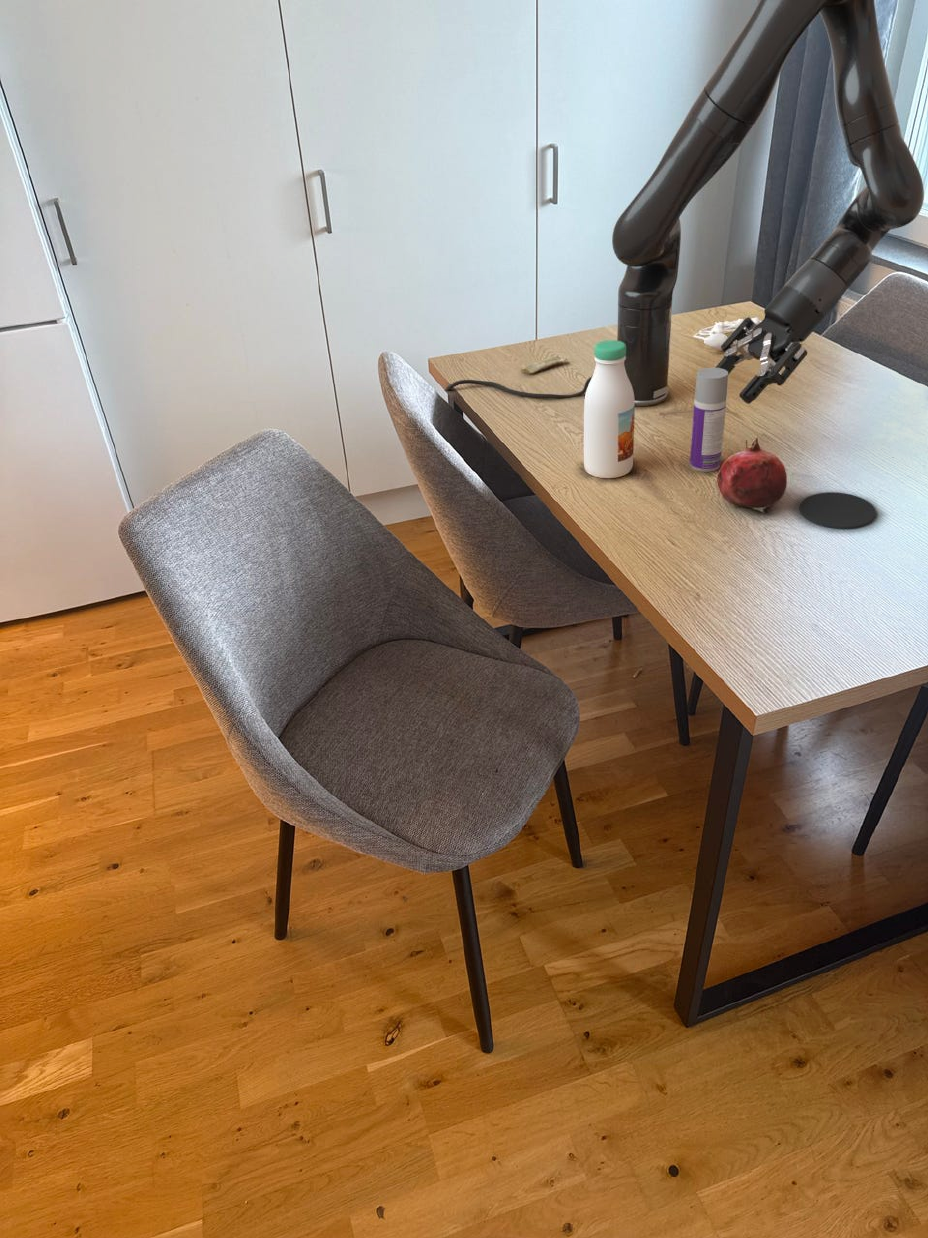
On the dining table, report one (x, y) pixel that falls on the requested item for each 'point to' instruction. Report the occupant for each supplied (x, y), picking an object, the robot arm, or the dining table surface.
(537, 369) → the snack bar
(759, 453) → the fruit
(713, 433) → the container
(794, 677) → the dining table surface
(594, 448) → the milk bottle
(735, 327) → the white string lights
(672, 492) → the dining table surface
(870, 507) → the coaster
